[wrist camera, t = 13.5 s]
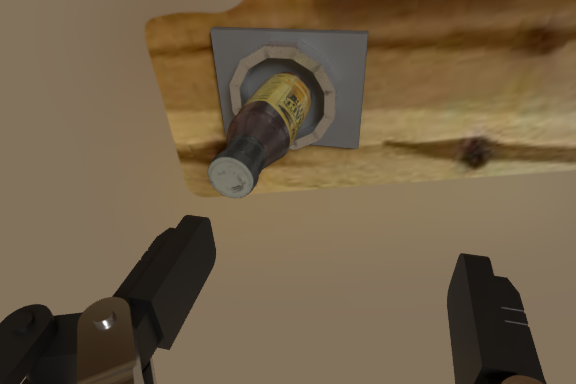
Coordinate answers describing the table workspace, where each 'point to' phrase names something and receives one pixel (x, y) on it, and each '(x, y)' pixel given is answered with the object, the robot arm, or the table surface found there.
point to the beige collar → (307, 59)
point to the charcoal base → (299, 73)
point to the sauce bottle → (260, 133)
